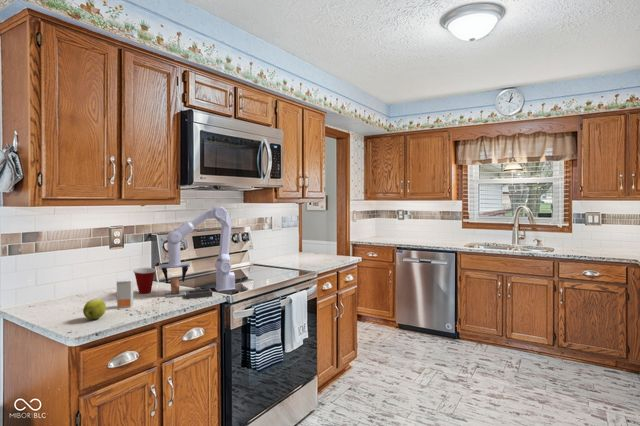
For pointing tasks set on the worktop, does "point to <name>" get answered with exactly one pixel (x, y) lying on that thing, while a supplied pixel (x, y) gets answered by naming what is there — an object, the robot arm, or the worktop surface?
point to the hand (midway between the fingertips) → (175, 282)
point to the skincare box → (125, 293)
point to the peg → (175, 286)
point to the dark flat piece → (199, 293)
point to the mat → (175, 295)
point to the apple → (94, 309)
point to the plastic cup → (144, 279)
